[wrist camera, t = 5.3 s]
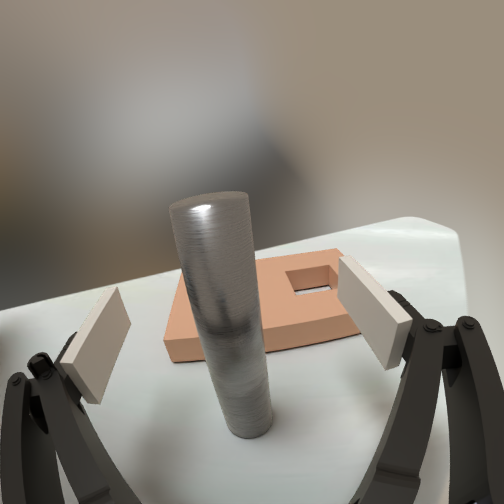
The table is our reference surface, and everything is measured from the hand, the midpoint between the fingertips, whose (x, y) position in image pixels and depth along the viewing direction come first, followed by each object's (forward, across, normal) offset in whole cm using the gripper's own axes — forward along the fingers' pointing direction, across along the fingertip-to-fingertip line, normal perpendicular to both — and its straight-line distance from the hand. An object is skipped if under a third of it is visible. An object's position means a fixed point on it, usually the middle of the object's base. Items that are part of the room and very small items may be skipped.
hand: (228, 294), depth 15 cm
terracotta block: (+10, +4, -8) cm, 13 cm away
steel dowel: (-3, 0, -8) cm, 9 cm away
